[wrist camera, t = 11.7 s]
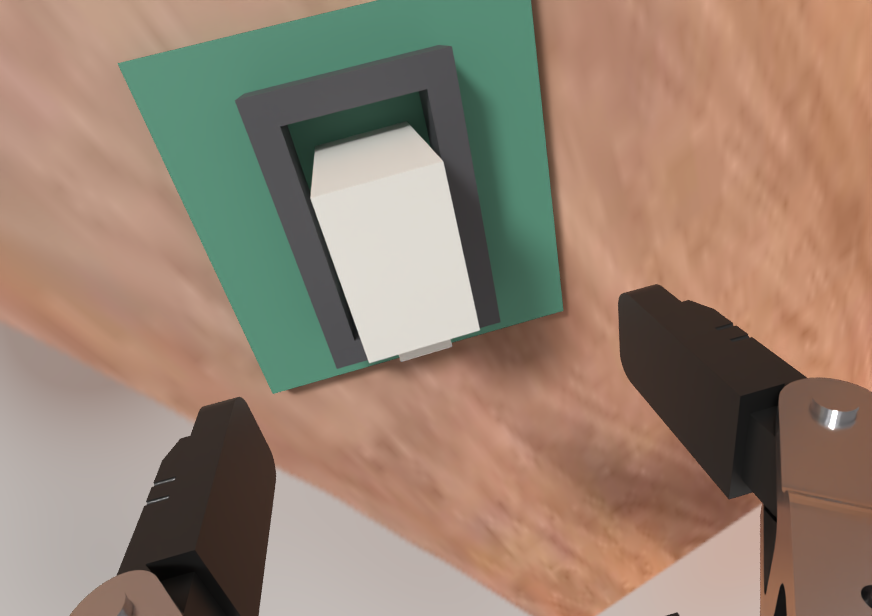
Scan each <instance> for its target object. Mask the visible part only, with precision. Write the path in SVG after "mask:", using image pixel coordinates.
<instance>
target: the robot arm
mask: <svg viewBox="0 0 872 616" xmlns="http://www.w3.org/2000/svg"><path fill="white" fill-rule="evenodd" d="M618 313H619V341H620V357H621V362H622V366H623V368H624V371H625V373H626V375H627V377H628V379H629V380H630V382H631V383H632V384H633V386H634V387H635V388H636V389H637V390H638V392H639V393H640V394H641V395H642V396H643V397H644V399H645V400H646V401H647V402H648V403H649V405H650V406H651V407H652V408H653V409H654V411H655V412H656V413H657V414H658V415H659V417H660V418H661V419H662V420H663V421H664V422H665V424H666V425H667V426H668V427H669V428H670V430H671V431H672V432H673V433H674V434H675V436H676V437H677V438H678V439H679V440H680V442H681V443H682V444H683V445H684V446H685V448H686V449H687V450H688V451H689V452H690V453H691V455H692V456H693V457H694V458H695V459H696V461H697V462H698V463H699V464H700V465H701V467H702V468H703V469H704V470H705V471H706V473H707V474H708V475H709V476H710V477H711V479H712V480H713V481H714V482H715V483H716V484H717V486H718V487H719V488H720V489H721V490H722V492H723V493H724V494H725V495H726V496H727V498H728V499H732V498H735V497H739V496H742V495H745V494H749V493H752V492H753V493H754V494H755V495H756V496H757V497H758V498H759V499H760V501H761V502H762V507H761V514H760V523H761V524H760V527H761V528H760V537H761V538H760V616H872V392H871V391H869V390H867V389H865V388H863V387H861V386H858V385H856V384H853V383H850V382H846V381H842V380H837V379H831V378H807V377H805V376H804V375H803V374H801V373H800V372H799V371H797V370H796V369H795V368H793V367H792V366H790V365H789V364H788V363H786V362H785V361H784V360H782V359H781V358H780V357H778V356H777V355H776V354H774V353H773V352H771V351H770V350H769V349H767V348H766V347H765V346H763V345H762V344H761V343H759V342H758V341H757V340H755V339H754V338H752V337H751V338H749V336H748V334H747V333H746V332H744V331H743V330H742V329H740V328H739V327H738V326H733V323H732V322H731V321H729V320H728V319H727V318H725V317H724V316H723V315H721V314H720V313H719V312H717V311H716V310H715V309H712V308H709V307H707V306H704V305H701V304H698V303H696V302H693V301H690V300H687V301H683V302H681V301H680V300H678V299H677V298H676V297H675V296H673V295H672V294H671V293H670V292H668V291H667V290H666V289H664V288H663V287H662V286H660V285H658V284H655V285H652V286H648V287H644V288H641V289H637V290H633V291H630V292H626V293H623V294H621V295H620V297H619V301H618ZM275 483H276V470H275V464H274V459H273V456H272V453H271V450H270V448H269V446H268V444H267V442H266V440H265V438H264V436H263V434H262V432H261V430H260V428H259V426H258V424H257V422H256V420H255V418H254V416H253V414H252V413H251V411H250V409H249V407H248V405H247V403H246V402H245V400H244V399H243V398H241V397H237V398H233V399H229V400H226V401H222V402H218V403H215V404H211V405H207V406H204V407H202V408H201V409H200V411H199V413H198V416H197V419H196V421H195V424H194V427H193V430H192V433H191V436H188V437H184V438H181V439H180V440H179V441H178V442H177V443H176V445H175V446H174V447H173V448H172V449H171V451H170V452H169V453H168V455H167V456H166V457H165V458H164V459H163V460H162V463H161V465H160V468H159V471H158V473H157V476H156V478H155V480H154V487H152V488H151V491H150V493H149V495H148V498H147V501H146V502H147V505H146V506H144V508H143V511H142V513H141V516H140V519H139V521H138V523H137V526H136V528H135V531H134V533H133V536H132V538H131V541H130V543H129V546H128V548H127V551H126V553H125V556H124V558H123V561H122V563H121V566H120V568H119V571H118V573H117V576H116V577H113V578H111V579H110V580H108V581H106V582H105V583H103V584H102V585H100V586H99V587H97V588H96V589H95V590H93V591H92V592H91V593H90V594H89V595H87V596H86V597H85V598H84V599H83V600H82V601H81V602H80V603H79V605H78V606H77V607H76V608H75V609H74V610H73V611H72V613H71V614H70V616H258V615H259V606H260V599H261V592H262V583H263V576H264V567H265V560H266V553H267V545H268V537H269V530H270V522H271V514H272V507H273V499H274V490H275ZM667 616H679V614H678V613H674V614H670V615H667Z"/></svg>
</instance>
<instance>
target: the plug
mask: <svg viewBox="0 0 872 616" xmlns="http://www.w3.org/2000/svg"><path fill="white" fill-rule="evenodd" d="M310 199H311V202H312V204H313V207H314V210H315V213H316V216H317V218H318V221H319V224H320V227H321V230H322V232H323V235H324V238H325V241H326V244H327V246H328V249H329V252H330V255H331V258H332V260H333V263H334V266H335V269H336V272H337V274H338V277H339V280H340V283H341V286H342V288H343V291H344V294H345V297H346V300H347V302H348V305H349V308H350V311H351V314H352V316H353V319H354V322H355V325H356V328H357V330H358V333H359V336H360V339H361V342H362V344H363V347H364V350H365V353H366V356H367V358H368V361H369V363H372V362H375V361H379V360H382V359H385V358H389V357H392V356H395V355H399V358H400V361H401V362H403V361H406V360H409V359H413V358H416V357H420V356H423V355H426V354H430V353H433V352H436V351H440V350H443V349H446V348H450V347H452V343H451V339H452V338H456V337H459V336H463V335H466V334H469V333H473V332H476V331H479V330H480V328H479V323H478V319H477V314H476V310H475V305H474V300H473V296H472V291H471V287H470V282H469V277H468V273H467V268H466V264H465V259H464V254H463V250H462V245H461V241H460V236H459V231H458V227H457V222H456V218H455V213H454V208H453V204H452V199H451V195H450V190H449V185H448V181H447V176H446V172H445V167H444V162H443V160H442V159H441V158H440V157H439V156H438V155H437V154H436V153H435V152H434V151H433V150H432V149H431V147H430V146H429V145H428V144H427V143H426V142H425V141H424V140H423V139H422V138H421V137H420V135H419V134H418V133H417V132H416V131H415V130H414V129H413V128H412V127H411V126H410V125H409V123H408V122H407V121H406V122H402V123H398V124H395V125H391V126H387V127H384V128H380V129H376V130H373V131H369V132H365V133H362V134H358V135H354V136H351V137H347V138H343V139H340V140H336V141H332V142H329V143H325V144H321V145H318V146H315V154H314V165H313V175H312V186H311V196H310Z"/></svg>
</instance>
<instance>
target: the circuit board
mask: <svg viewBox="0 0 872 616" xmlns="http://www.w3.org/2000/svg"><path fill="white" fill-rule="evenodd" d="M118 65H119V68H120V70H121V72H122V74H123V76H124V78H125V80H126V82H127V85H128V87H129V89H130V91H131V93H132V95H133V97H134V99H135V102H136V104H137V106H138V108H139V110H140V112H141V114H142V116H143V119H144V121H145V123H146V125H147V127H148V129H149V131H150V134H151V136H152V138H153V140H154V142H155V144H156V146H157V148H158V151H159V153H160V155H161V157H162V159H163V161H164V163H165V165H166V168H167V170H168V172H169V174H170V176H171V178H172V180H173V182H174V185H175V187H176V189H177V191H178V193H179V195H180V197H181V199H182V202H183V204H184V206H185V208H186V210H187V212H188V214H189V216H190V219H191V221H192V223H193V225H194V227H195V229H196V231H197V234H198V236H199V238H200V240H201V242H202V244H203V246H204V248H205V251H206V253H207V255H208V257H209V259H210V261H211V263H212V265H213V268H214V270H215V272H216V274H217V276H218V278H219V280H220V282H221V285H222V287H223V289H224V291H225V293H226V295H227V297H228V299H229V302H230V304H231V306H232V308H233V310H234V312H235V314H236V316H237V319H238V321H239V323H240V325H241V327H242V329H243V331H244V334H245V336H246V338H247V340H248V342H249V344H250V346H251V348H252V351H253V353H254V355H255V357H256V359H257V361H258V363H259V365H260V368H261V370H262V372H263V374H264V376H265V378H266V380H267V382H268V385H269V387H270V389H271V391H272V393H273V394H274V393H278V392H281V391H285V390H288V389H292V388H295V387H299V386H302V385H306V384H309V383H313V382H316V381H320V380H323V379H327V378H330V377H334V376H337V375H341V374H344V373H348V372H351V371H355V370H358V369H362V368H365V367H369V366H372V365H376V364H379V363H383V362H386V361H390V360H393V359H396V358H399V355H395V356H392V357H389V358H385V359H382V360H379V361H375V362H372V363H369V361H368V358H367V356H366V353H365V350H364V347H363V344H362V342H361V339H360V336H359V333H358V330H357V328H356V325H355V322H354V319H353V316H352V314H351V311H350V308H349V305H348V302H347V300H346V297H345V294H344V291H343V288H342V286H341V283H340V280H339V277H338V274H337V272H336V269H335V266H334V263H333V260H332V258H331V255H330V252H329V249H328V246H327V244H326V241H325V238H324V235H323V232H322V230H321V227H320V224H319V221H318V218H317V216H316V213H315V210H314V207H313V204H312V202H311V199H310V196H311V186H312V175H313V165H314V154H315V146H318V145H321V144H325V143H329V142H332V141H336V140H340V139H343V138H347V137H351V136H354V135H358V134H362V133H365V132H369V131H373V130H376V129H380V128H384V127H387V126H391V125H395V124H398V123H402V122H406V121H407V122H408V123H409V125H410V126H411V127H412V128H413V129H414V130H415V131H416V132H417V133H418V134H419V135H420V137H421V138H422V139H423V140H424V141H425V142H426V143H427V144H428V145H429V146H430V147H431V149H432V150H433V151H434V152H435V153H436V154H437V155H438V156H439V157H440V158H441V159H442V160H443V162H444V167H445V172H446V176H447V181H448V185H449V190H450V195H451V199H452V204H453V208H454V213H455V218H456V222H457V227H458V231H459V236H460V241H461V245H462V250H463V254H464V259H465V264H466V268H467V273H468V277H469V282H470V287H471V291H472V296H473V300H474V305H475V310H476V314H477V319H478V323H479V328H480V330H479V331H476V332H473V333H469V334H466V335H463V336H459V337H456V338H452V339H451V343H452V342H456V341H459V340H463V339H466V338H470V337H473V336H477V335H480V334H484V333H487V332H491V331H494V330H498V329H501V328H505V327H508V326H512V325H515V324H519V323H522V322H526V321H529V320H533V319H536V318H540V317H543V316H547V315H550V314H554V313H557V312H561V311H563V302H562V293H561V283H560V274H559V264H558V255H557V245H556V236H555V226H554V217H553V207H552V198H551V188H550V178H549V169H548V159H547V150H546V140H545V131H544V121H543V112H542V102H541V93H540V83H539V73H538V64H537V54H536V45H535V35H534V26H533V16H532V7H531V0H377V1H373V2H369V3H365V4H360V5H356V6H352V7H348V8H344V9H340V10H336V11H332V12H328V13H323V14H319V15H315V16H311V17H307V18H303V19H299V20H295V21H290V22H286V23H282V24H278V25H274V26H270V27H266V28H262V29H257V30H253V31H249V32H245V33H241V34H237V35H233V36H229V37H225V38H220V39H216V40H212V41H208V42H204V43H200V44H196V45H192V46H187V47H183V48H179V49H175V50H171V51H167V52H163V53H159V54H154V55H150V56H146V57H142V58H138V59H134V60H130V61H126V62H122V63H118Z"/></svg>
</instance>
